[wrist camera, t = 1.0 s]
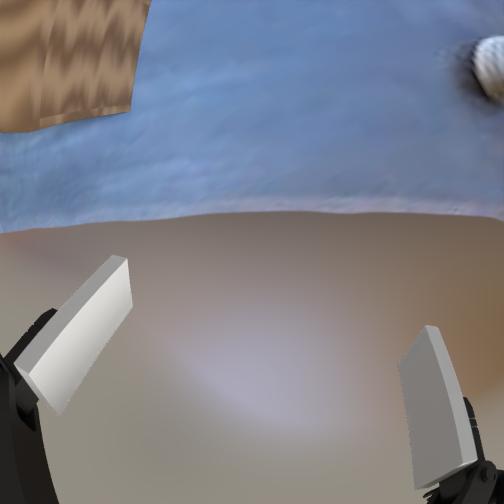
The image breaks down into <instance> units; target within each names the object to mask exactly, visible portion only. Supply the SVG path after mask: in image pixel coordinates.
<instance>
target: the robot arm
mask: <svg viewBox="0 0 504 504" xmlns="http://www.w3.org/2000/svg"><path fill="white" fill-rule="evenodd" d="M132 307H133V305H132V298H131V290H130V282H129V272H128V263H127V259H126V258H123V257H119V256H116V255H112V256H111V257H110V258H109V259H108V260H107V261H106V262H105V263H104V264H103V265H102V266H101V267H100V268H99V269H98V270H97V271H96V272H95V273H93V275H92V276H91V277H90V278H89V279H88V280H87V281H86V282H85V283H84V284H83V285H82V286H81V287H80V288H79V289H78V290H77V291H76V292H75V293H74V294H73V295H72V296H71V297H70V298H69V299H68V300H67V301H66V303H65V304H64V305H63V306H62V307H61V308H60V309H59V310H56V309H53V308H52V309H50V310H48V311H47V312H45V313H43V314H42V315H41V316H40V317H39V318H38V319H37V320H36V321H35V322H34V325H32V326H31V327H30V328H29V329H28V332H26V333H25V334H24V335H23V336H22V337H21V338H20V340H19V341H18V342H17V343H16V344H15V346H14V347H13V348H12V349H11V350H10V352H9V353H8V354H7V355H6V356H5V357H4V358H3V357H2V355H1V354H0V504H59V502H58V499H57V496H56V493H55V489H54V486H53V483H52V479H51V475H50V471H49V467H48V463H47V458H46V454H45V449H44V444H43V439H42V433H41V426H40V420H39V412H38V407H37V404H36V403H37V402H38V400H40V401H41V402H42V404H43V405H44V406H45V407H46V408H47V409H49V410H50V411H52V412H54V413H55V414H57V415H58V416H60V415H61V414H62V412H63V410H64V409H65V407H66V405H67V404H68V402H69V400H70V399H71V397H72V396H73V394H74V392H75V391H76V389H77V388H78V386H79V384H80V383H81V381H82V380H83V378H84V377H85V375H86V374H87V372H88V370H89V369H90V368H91V366H92V364H93V363H94V361H95V360H96V358H97V357H98V356H99V354H100V353H101V351H102V350H103V348H104V347H105V345H106V344H107V342H108V341H109V339H110V338H111V336H112V335H113V334H114V332H115V331H116V329H117V328H118V326H119V325H120V324H121V322H122V321H123V320H124V318H125V317H126V315H127V314H128V313H129V311H130V310H131V308H132ZM397 367H398V371H399V376H400V381H401V387H402V391H403V397H404V403H405V409H406V415H407V422H408V429H409V437H410V445H411V454H412V464H413V476H414V490H417V489H422V488H428V487H431V486H433V485H435V484H437V483H438V482H439V486H440V487H438V488H436V489H433V490H431V491H429V492H427V493H426V494H425V495H424V496H423V498H425V497H428V496H430V495H432V496H431V497H429V498H428V499H427V501H428V502H427V504H504V470H497V469H496V467H495V465H494V464H493V463H492V462H491V461H486V460H485V457H484V453H483V449H482V443H481V439H480V435H479V430H478V428H477V423H476V420H475V415H474V411H473V408H472V406H471V404H470V403H469V401H468V399H467V398H466V397H463V396H462V393H461V390H460V387H459V383H458V380H457V378H456V374H455V371H454V369H453V366H452V363H451V360H450V357H449V355H448V352H447V349H446V347H445V344H444V342H443V339H442V337H441V334H440V332H439V329H438V327H433V326H427V325H425V326H424V328H423V329H422V331H421V332H420V334H419V335H418V337H417V338H416V340H415V341H414V343H413V344H412V345H411V347H410V348H409V350H408V351H407V352H406V354H405V355H404V356H403V358H402V359H401V361H400V362H399V363H398V364H397Z"/></svg>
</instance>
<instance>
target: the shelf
mask: <svg viewBox="0 0 504 504" xmlns="http://www.w3.org/2000/svg"><path fill="white" fill-rule="evenodd" d="M150 4H151V0H0V133H14V132H31V131H35V130H38V129H42V128H46V127H50V126H54V125H58V124H62V123H67V122H71V121H76V120H81V119H86V118H91V117H97V116H103V115H109V114H115V113H122V112H130V106H131V98H132V91H133V84H134V78H135V72H136V66H137V60H138V55H139V50H140V45H141V40H142V36H143V31H144V27H145V23H146V19H147V15H148V11H149V7H150Z"/></svg>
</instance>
